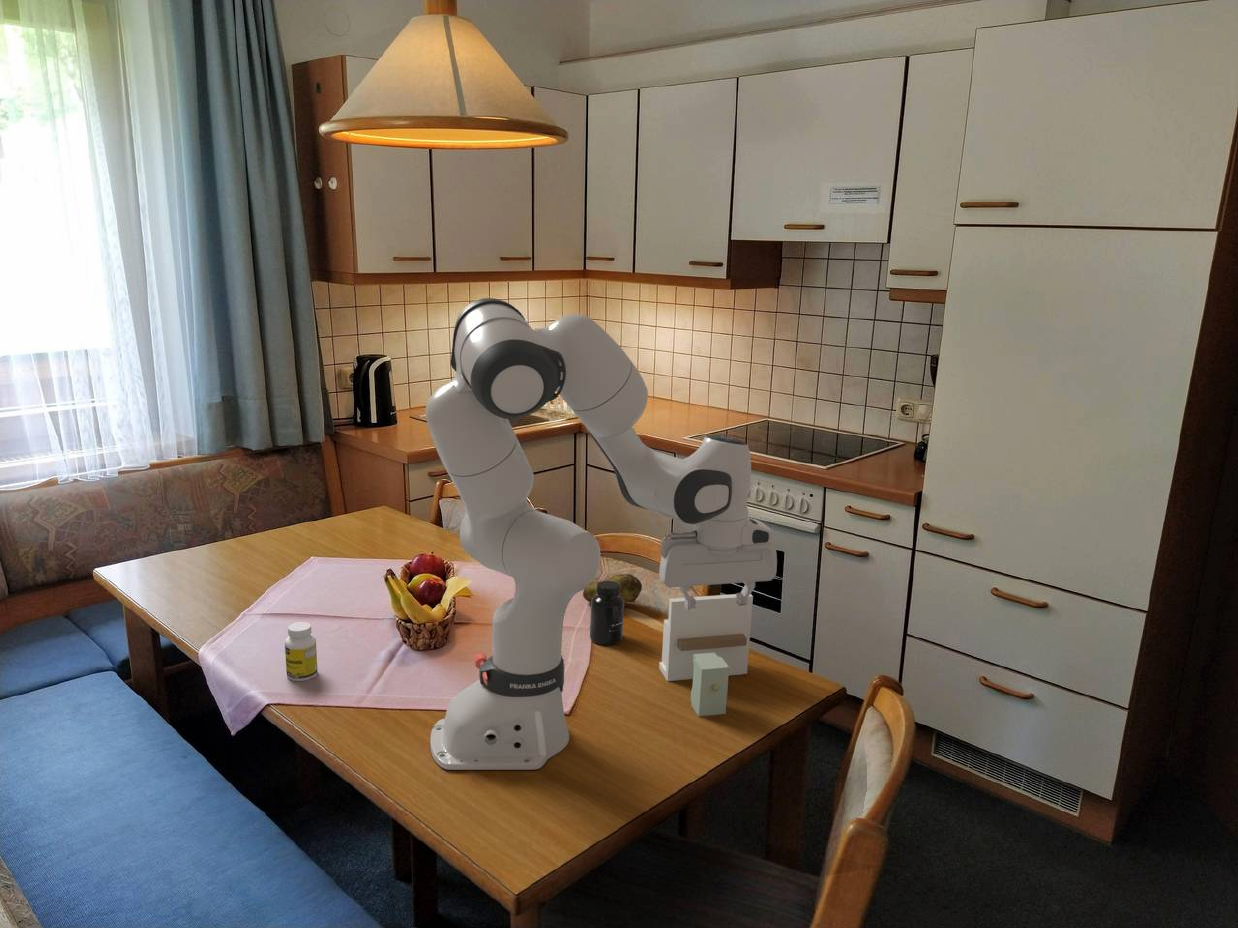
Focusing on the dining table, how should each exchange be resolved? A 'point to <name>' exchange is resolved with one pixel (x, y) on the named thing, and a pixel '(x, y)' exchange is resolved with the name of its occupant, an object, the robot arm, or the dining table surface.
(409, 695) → the dining table surface
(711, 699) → the pale green box
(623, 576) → the potato
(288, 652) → the supplement bottle
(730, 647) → the wall board
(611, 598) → the supplement bottle
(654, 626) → the dining table surface
